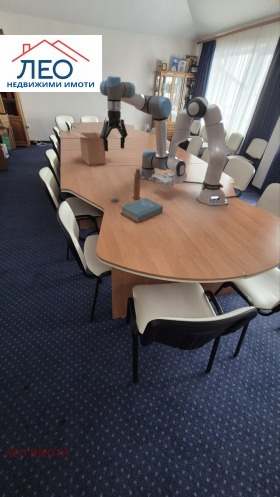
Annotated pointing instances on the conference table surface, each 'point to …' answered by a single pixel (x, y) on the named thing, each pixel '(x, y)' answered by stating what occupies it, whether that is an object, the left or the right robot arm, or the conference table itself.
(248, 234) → the conference table surface
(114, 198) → the cap
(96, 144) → the box
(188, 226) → the conference table surface
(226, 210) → the conference table surface
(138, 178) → the bottle
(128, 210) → the book
